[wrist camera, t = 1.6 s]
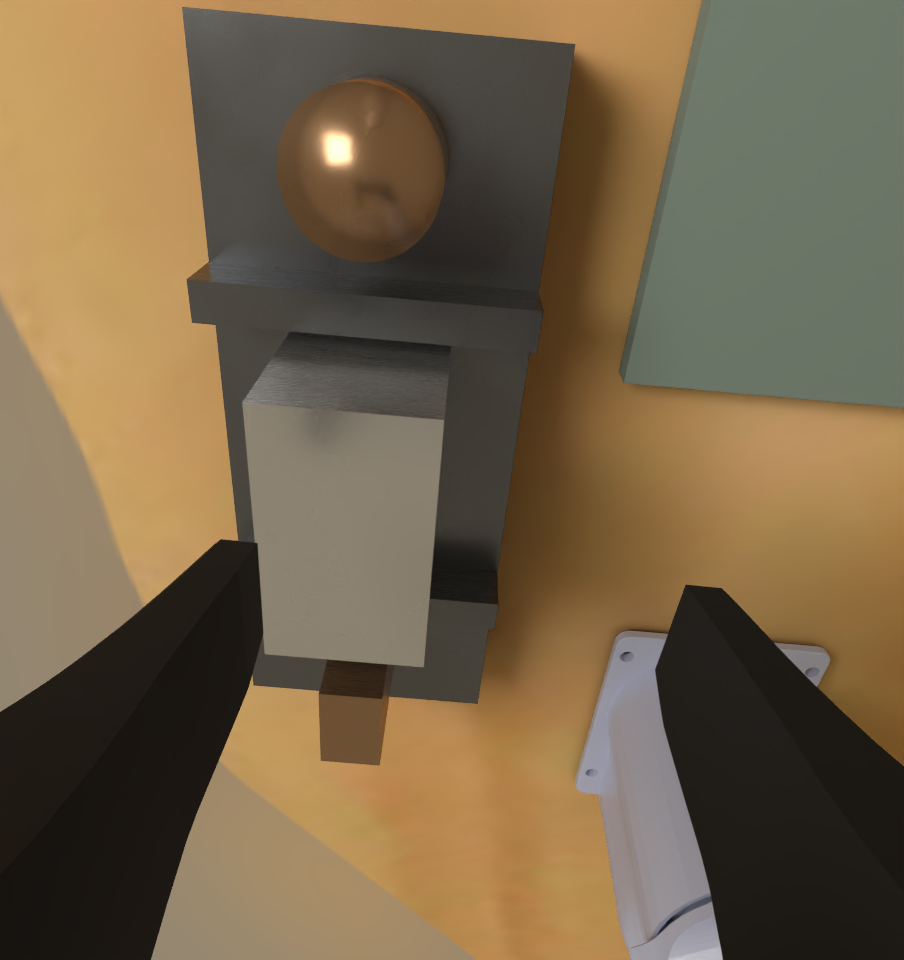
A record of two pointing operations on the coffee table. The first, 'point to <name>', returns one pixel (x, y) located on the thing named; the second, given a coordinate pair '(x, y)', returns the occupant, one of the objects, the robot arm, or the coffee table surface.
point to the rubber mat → (781, 209)
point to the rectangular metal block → (347, 494)
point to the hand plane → (382, 274)
